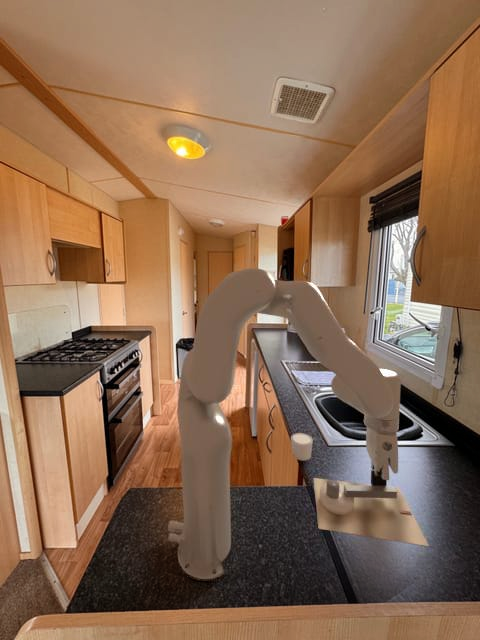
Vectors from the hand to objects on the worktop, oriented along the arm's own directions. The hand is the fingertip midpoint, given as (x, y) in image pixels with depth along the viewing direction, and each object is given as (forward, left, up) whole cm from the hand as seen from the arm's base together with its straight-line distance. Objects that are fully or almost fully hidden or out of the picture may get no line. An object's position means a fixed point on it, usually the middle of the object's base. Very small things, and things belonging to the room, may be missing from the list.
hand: (378, 486), depth 69 cm
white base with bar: (-6, -4, -2) cm, 7 cm away
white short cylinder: (-19, +13, -4) cm, 23 cm away
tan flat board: (-5, -5, -4) cm, 8 cm away
